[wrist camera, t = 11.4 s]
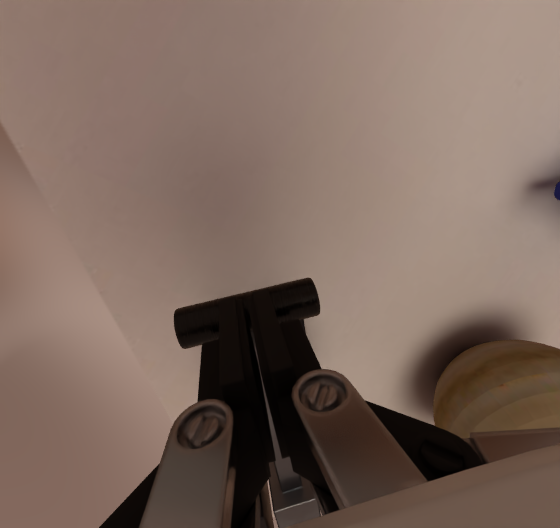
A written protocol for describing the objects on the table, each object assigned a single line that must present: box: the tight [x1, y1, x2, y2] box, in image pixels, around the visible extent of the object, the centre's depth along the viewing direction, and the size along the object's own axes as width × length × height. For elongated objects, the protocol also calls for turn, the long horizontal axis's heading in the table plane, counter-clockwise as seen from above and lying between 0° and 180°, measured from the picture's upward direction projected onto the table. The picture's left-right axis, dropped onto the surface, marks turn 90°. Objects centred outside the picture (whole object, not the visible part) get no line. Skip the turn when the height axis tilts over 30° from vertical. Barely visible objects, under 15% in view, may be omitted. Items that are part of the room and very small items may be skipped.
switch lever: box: [174, 278, 321, 528], centre depth 14 cm, size 14×5×2 cm, turn 10°
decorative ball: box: [433, 340, 560, 438], centre depth 28 cm, size 15×15×15 cm
